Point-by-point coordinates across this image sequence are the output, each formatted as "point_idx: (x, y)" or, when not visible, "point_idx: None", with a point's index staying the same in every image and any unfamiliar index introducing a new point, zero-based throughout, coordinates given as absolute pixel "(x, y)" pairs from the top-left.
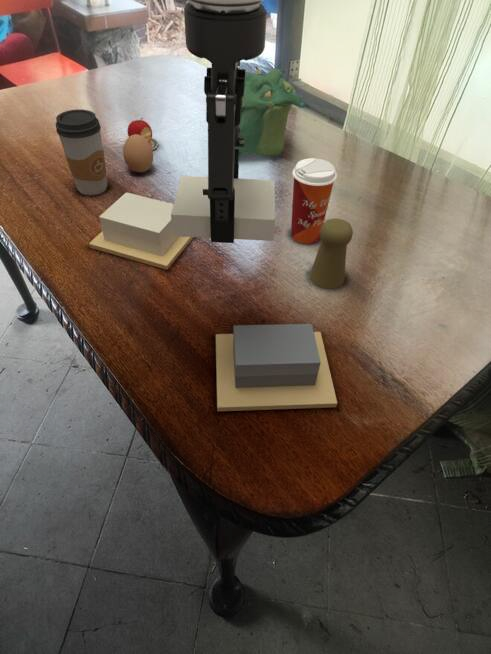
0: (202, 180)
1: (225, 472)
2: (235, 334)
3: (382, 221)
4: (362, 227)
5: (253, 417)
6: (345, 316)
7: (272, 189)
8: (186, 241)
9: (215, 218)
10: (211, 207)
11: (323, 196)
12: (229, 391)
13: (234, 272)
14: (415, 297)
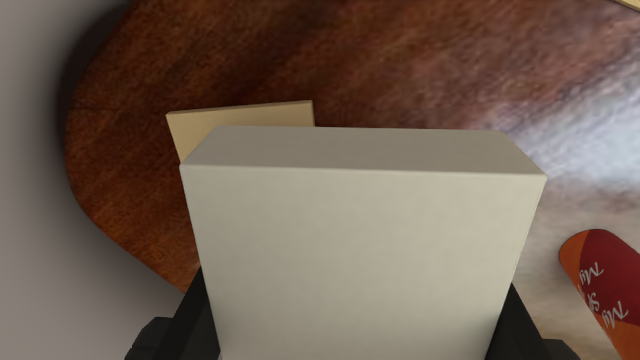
0: (478, 266)
1: (88, 126)
2: None
3: (593, 355)
4: (585, 329)
5: (174, 158)
6: None
7: None
8: (634, 5)
9: (140, 334)
10: (162, 344)
11: (617, 351)
12: (196, 130)
13: (494, 125)
14: None
